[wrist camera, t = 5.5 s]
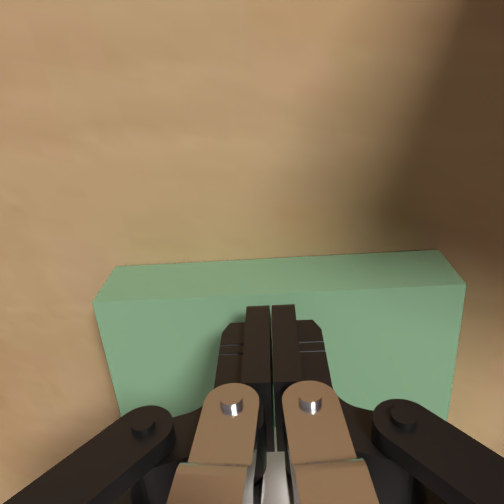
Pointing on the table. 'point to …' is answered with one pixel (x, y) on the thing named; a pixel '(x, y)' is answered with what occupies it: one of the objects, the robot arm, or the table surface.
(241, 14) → the table surface
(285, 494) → the ball
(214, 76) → the table surface
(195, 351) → the green
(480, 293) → the table surface
